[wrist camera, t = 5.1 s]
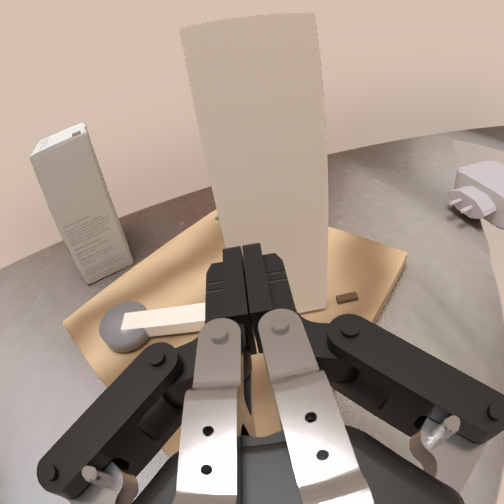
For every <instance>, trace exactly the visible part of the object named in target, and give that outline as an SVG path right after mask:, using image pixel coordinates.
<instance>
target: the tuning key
mask: <svg viewBox="0 0 504 504" xmlns="http://www.w3.org/2000/svg"><path fill="white" fill-rule="evenodd" d="M180 34H181V39H182V45H183V50H184V56H185V61H186V66H187V71H188V76H189V81H190V86H191V91H192V96H193V101H194V106H195V111H196V116H197V121H198V125H199V131H200V135H201V140H202V145H203V149H204V154H205V158H206V163H207V168H208V172H209V177H210V182H211V186H212V191H213V195H214V199H215V204H216V208H217V213H218V217H219V221H220V226H221V230H222V234H223V239H224V243H225V247H226V248H230V247H236V246H241V250H242V245H248V244H254V243H260V245H261V250H262V255H265V254H271V253H276V254H277V255H278V256H279V257H280V258H281V259H282V260H283V263H284V267H285V271H286V274H287V278H288V281H289V285H290V289H291V293H292V296H293V300H294V304H295V308H296V310H297V312H298V313H302V312H307V311H312V310H317V309H322V308H326V289H327V262H328V166H327V141H326V121H325V106H324V92H323V80H322V70H321V60H320V50H319V42H318V33H317V26H316V18H315V13H284V14H269V15H256V16H247V17H239V18H231V19H224V20H219V21H212V22H207V23H201V24H196V25H192V26H187V27H182V28H180ZM242 255H243V250H242ZM243 260H244V259H243ZM204 325H205V303H198V304H191V305H184V306H176V307H169V308H161V309H154V310H147V309H146V307H145V306H144V305H143V304H141V303H139V302H136V301H126V302H122V303H119V304H117V305H115V306H114V307H112V308H111V309H110V310H108V311H107V312H106V313H105V315H104V316H103V318H102V319H101V322H100V325H99V334H100V336H101V338H102V339H103V340H104V342H105V343H106V344H107V346H108V347H109V348H110V349H112V350H114V351H116V352H129V351H132V350H134V349H136V348H138V347H140V346H141V345H142V344H143V343H144V342H146V340H147V339H148V338H149V337H151V336H161V335H170V334H179V333H188V332H196V331H200V330H201V328H202V327H203V326H204Z"/></svg>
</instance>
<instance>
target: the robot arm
mask: <svg viewBox="0 0 504 504" xmlns="http://www.w3.org/2000/svg"><path fill="white" fill-rule="evenodd" d="M242 250H243V255H242ZM242 250H241V246H236V247H230V248H224V249H223V250H222V252H223V262H218V263H212V264H211V265H210V267H209V269H208V271H207V272H206V297H205V325H204V326H203V327H202V328H201V330H200V332H199V335H198V337H197V338H195V339H194V340H192V341H191V342H189V343H186V344H184V345H182V346H179V347H177V348H174V347H173V346H172V345H171V344H168V343H165V342H158V343H154V344H151V345H149V346H148V347H146V348H145V349H144V350H143V351H142V352H141V353H140V354H139V355H138V356H137V357H136V358H135V359H134V360H133V361H132V363H131V364H130V365H129V366H128V367H127V368H126V369H125V370H124V371H123V372H122V373H121V374H120V375H119V376H118V377H117V378H116V379H115V380H114V381H113V383H112V384H111V385H110V386H109V387H108V388H107V389H106V390H105V391H104V392H103V393H102V394H101V395H100V396H99V397H98V398H97V399H96V401H95V402H94V403H93V404H92V405H91V406H90V407H89V408H88V409H87V410H86V411H85V412H84V413H83V414H82V415H81V416H80V418H79V419H78V420H77V421H76V422H75V423H74V424H73V425H72V426H71V427H70V428H69V429H68V430H67V431H66V433H65V434H64V435H63V436H62V437H61V438H60V439H59V440H58V441H57V442H56V443H55V444H54V445H53V447H52V448H51V449H50V450H49V451H48V452H47V453H46V454H45V455H44V456H43V457H42V458H41V460H40V461H39V463H38V466H37V478H38V481H39V483H40V485H41V486H42V487H43V488H44V489H45V490H46V491H48V492H51V493H53V494H56V495H59V496H62V497H63V498H65V499H67V500H68V501H69V502H70V503H71V504H464V501H463V499H462V497H461V496H460V492H461V490H462V489H463V487H464V485H465V483H466V482H467V480H468V478H469V476H470V474H471V473H472V471H473V469H474V467H475V465H476V463H477V461H478V459H479V457H480V455H481V453H482V451H483V449H484V447H485V445H486V443H487V442H488V441H489V440H490V439H492V438H493V437H494V436H496V435H497V434H499V433H500V432H502V431H503V430H504V395H503V394H501V393H500V392H498V391H496V390H494V389H492V388H490V387H489V386H487V385H485V384H483V383H481V382H479V381H478V380H476V379H474V378H472V377H470V376H468V375H467V374H465V373H463V372H461V371H459V370H457V369H456V368H454V367H452V366H450V365H448V364H446V363H445V362H443V361H441V360H439V359H437V358H436V357H434V356H432V355H430V354H428V353H426V352H425V351H423V350H421V349H419V348H417V347H416V346H414V345H412V344H410V343H408V342H406V341H405V340H403V339H401V338H399V337H397V336H396V335H394V334H392V333H390V332H388V331H386V330H385V329H383V328H381V327H379V326H377V325H376V324H374V323H372V322H370V321H368V320H367V319H365V318H363V317H361V316H359V315H356V314H343V315H340V316H337V317H336V318H334V319H333V320H332V321H331V322H330V323H318V322H312V321H309V320H306V319H305V318H303V317H302V316H301V315H300V314H299V313H298V312H297V310H296V308H295V304H294V300H293V296H292V293H291V289H290V285H289V281H288V278H287V274H286V271H285V267H284V263H283V260H282V259H281V258H280V257H279V256H278V255H277V254H276V253H271V254H265V255H262V250H261V245H260V243H254V244H248V245H242ZM243 259H244V260H243ZM255 338H256V342H255ZM256 343H257V347H258V352H259V354H260V353H263V355H264V360H265V364H266V369H267V374H268V378H269V382H270V386H271V391H272V395H273V399H274V403H275V407H276V411H277V415H278V419H279V424H280V428H281V431H279V432H276V433H274V434H271V435H268V436H266V437H256V430H255V424H254V410H253V374H252V359H251V355H254V354H257V349H256ZM330 386H331V387H332V388H334V389H335V390H337V391H338V392H340V393H341V394H343V395H344V396H346V397H347V398H349V399H350V400H352V401H353V402H355V403H356V404H358V405H359V406H361V407H363V408H364V409H366V410H367V411H369V412H370V413H372V414H374V415H375V416H377V417H378V418H380V419H382V420H383V421H385V422H386V423H388V424H390V425H391V426H393V427H395V428H396V429H398V430H400V431H401V432H403V433H405V434H406V435H408V436H410V437H411V439H410V451H411V453H412V455H413V456H414V457H415V458H416V459H417V460H418V461H419V462H420V463H421V464H422V466H423V468H424V471H423V470H422V469H420V468H419V467H417V466H415V465H414V464H412V463H411V462H409V461H407V460H406V459H404V458H403V457H401V456H400V455H398V454H397V453H395V452H394V451H392V450H391V449H389V448H388V447H386V446H385V445H383V444H382V443H380V442H379V441H377V440H376V439H374V438H373V437H371V436H370V435H368V434H367V433H365V432H363V431H361V430H359V429H356V428H354V427H350V426H346V425H344V423H343V420H342V417H341V414H340V411H339V409H338V406H337V403H336V400H335V398H334V395H333V392H332V389H331V387H330ZM181 425H182V426H181ZM180 426H181V436H180V448H179V451H178V452H176V453H175V454H174V455H173V456H171V457H170V458H169V459H168V460H167V462H166V463H165V464H164V465H163V466H162V468H161V469H160V470H159V471H158V473H157V474H156V475H155V476H154V478H153V479H152V480H151V481H150V482H149V484H148V485H147V486H146V487H145V488H144V490H143V491H142V492H141V493H140V494H139V496H138V497H137V498H136V499H135V500H134V498H135V497H136V495H137V494H138V491H139V489H138V482H137V479H136V476H137V475H138V474H139V473H140V472H141V471H142V470H143V469H144V468H145V466H146V465H147V464H148V463H149V462H150V461H151V460H152V458H153V457H154V456H155V455H156V454H157V453H158V452H159V450H160V449H161V448H162V447H163V446H164V445H165V444H166V442H167V441H168V440H169V439H170V438H171V436H172V435H173V434H174V433H175V432H176V431H177V429H178V428H179V427H180ZM133 500H134V502H133ZM132 502H133V503H132Z"/></svg>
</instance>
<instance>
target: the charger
mask: <svg viewBox="0 0 504 504" xmlns="http://www.w3.org/2000/svg"><path fill="white" fill-rule="evenodd" d="M448 195H449V198H450V200H451V202H449V205H450V206H452V205H454V206H455V207H456V209H458V210H459V211H460V212H461V213H464V214H465V215H467V216H468V217H469V218H474V219H481V218H484V219H485V220H487V221H488V222H490V223H491V224H493V225H494V226H496V227H498V228H500V229H504V165H502V164H500V163H499V162H497V161H494V160H488V161H484V162H480V163H476V164H472V165H468V166H464V167H460V168H458V170H457V175H456V181H455V186H454V190H452V191H450V192H448Z"/></svg>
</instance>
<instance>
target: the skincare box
mask: <svg viewBox="0 0 504 504" xmlns="http://www.w3.org/2000/svg"><path fill="white" fill-rule="evenodd" d="M30 160H31V163H32V165H33V168H34V171H35V173H36V176H37V179H38V181H39V184H40V186H41V188H42V191H43V193H44V196H45V199H46V201H47V204H48V207H49V209H50V211H51V214H52V216H53V218H54V221H55V223H56V225H57V227H58V229H59V231H60V233H61V236H62V238H63V240H64V242H65V244H66V246H67V248H68V250H69V252H70V254H71V256H72V258H73V260H74V262H75V264H76V266H77V268H78V269H79V271H80V273H81V275H82V277H83V278H84V280H85V282H86V283H87V284H91V283H94V282H96V281H98V280H100V279H102V278H104V277H106V276H108V275H111V274H113V273H115V272H117V271H119V270H121V269H124V268H126V267H128V266H130V265H132V264H133V263H134V262H133V258H132V255H131V252H130V249H129V246H128V243H127V240H126V237H125V235H124V232H123V230H122V227H121V224H120V222H119V219H118V216H117V214H116V211H115V209H114V206H113V203H112V200H111V198H110V195H109V192H108V189H107V186H106V183H105V180H104V177H103V174H102V172H101V169H100V166H99V163H98V160H97V158H96V155H95V152H94V149H93V147H92V144H91V141H90V138H89V134H88V131H87V127H86V124H85V123H84V122H82V123H80V124H77V125H74V126H72V127H70V128H67V129H65V130H63V131H61V132H58V133H56V134H54V135H51V136H49V137H47V138H44V139H42V140H41V141H39V143H38V144H37V146H36V148H35V150H34V151H33V153H32V154H31V156H30Z"/></svg>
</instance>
